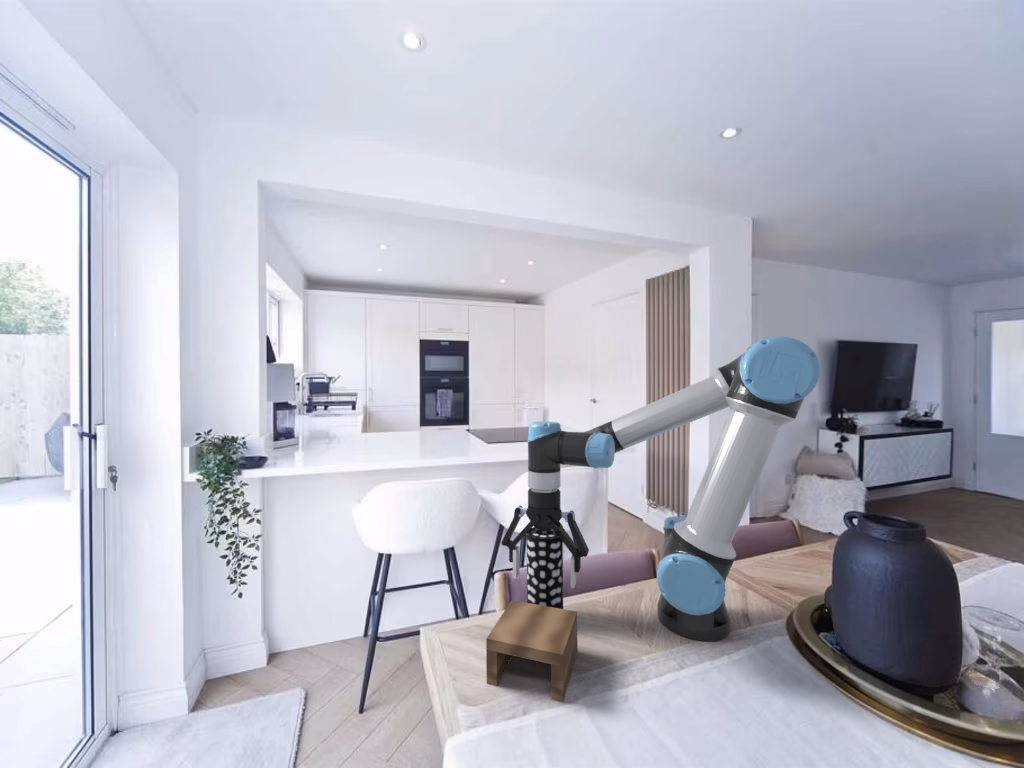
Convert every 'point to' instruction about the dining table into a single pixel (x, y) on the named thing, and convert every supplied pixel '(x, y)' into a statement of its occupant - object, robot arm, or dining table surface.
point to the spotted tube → (544, 568)
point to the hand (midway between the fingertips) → (544, 580)
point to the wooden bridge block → (534, 642)
